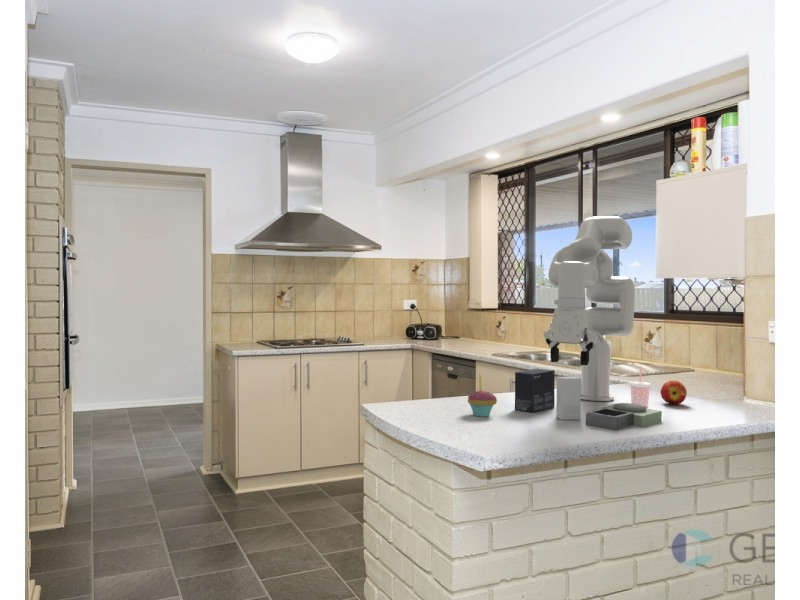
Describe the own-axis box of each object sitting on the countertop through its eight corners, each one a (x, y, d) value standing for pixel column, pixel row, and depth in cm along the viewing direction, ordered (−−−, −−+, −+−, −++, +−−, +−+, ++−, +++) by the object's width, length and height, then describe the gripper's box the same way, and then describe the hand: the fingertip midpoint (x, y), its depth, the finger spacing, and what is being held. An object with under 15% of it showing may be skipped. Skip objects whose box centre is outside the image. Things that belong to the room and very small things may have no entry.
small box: (536, 404, 207) (537, 368, 206) (555, 408, 202) (555, 370, 202) (513, 410, 197) (514, 371, 197) (532, 413, 192) (533, 373, 192)
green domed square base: (596, 418, 186) (596, 404, 186) (616, 413, 194) (616, 400, 194) (642, 426, 176) (642, 412, 176) (661, 421, 184) (661, 407, 184)
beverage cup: (646, 414, 194) (648, 368, 194) (626, 411, 198) (627, 366, 198) (652, 411, 199) (653, 366, 199) (632, 408, 203) (633, 365, 202)
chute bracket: (585, 424, 178) (586, 412, 177) (603, 419, 184) (604, 407, 184) (615, 430, 171) (616, 417, 171) (633, 425, 178) (633, 412, 178)
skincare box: (575, 417, 188) (576, 376, 187) (581, 420, 183) (582, 378, 183) (555, 417, 187) (556, 376, 187) (560, 420, 183) (561, 378, 182)
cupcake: (462, 413, 190) (463, 372, 190) (487, 411, 193) (488, 372, 193) (475, 418, 182) (476, 377, 182) (501, 417, 185) (502, 376, 185)
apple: (661, 405, 210) (662, 381, 210) (659, 401, 218) (659, 378, 218) (687, 407, 208) (688, 382, 208) (684, 403, 216) (685, 379, 216)
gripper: (538, 303, 188) (536, 361, 188) (591, 305, 175) (589, 367, 175) (552, 303, 193) (550, 360, 193) (605, 305, 181) (603, 365, 181)
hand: (569, 363), depth 184 cm, fingers open, 9 cm apart
